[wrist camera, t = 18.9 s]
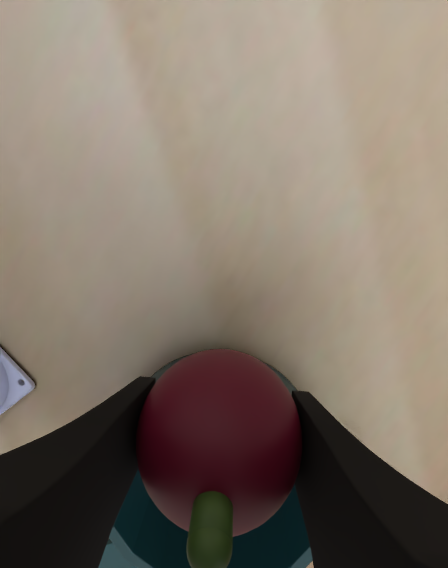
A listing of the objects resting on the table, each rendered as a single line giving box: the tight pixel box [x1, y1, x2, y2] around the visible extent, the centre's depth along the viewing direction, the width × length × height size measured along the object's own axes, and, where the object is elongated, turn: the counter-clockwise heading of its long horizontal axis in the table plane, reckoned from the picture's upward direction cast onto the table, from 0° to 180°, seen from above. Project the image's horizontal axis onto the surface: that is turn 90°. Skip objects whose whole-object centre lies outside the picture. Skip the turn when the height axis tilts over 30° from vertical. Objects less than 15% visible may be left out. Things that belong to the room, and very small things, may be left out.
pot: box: [109, 354, 313, 568], centre depth 20 cm, size 15×20×6 cm
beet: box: [136, 349, 303, 568], centre depth 9 cm, size 5×5×7 cm
